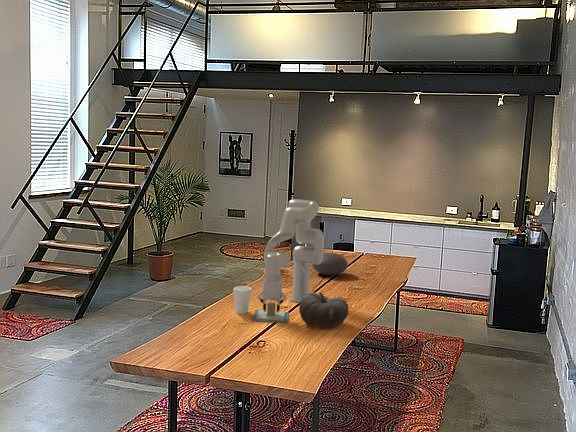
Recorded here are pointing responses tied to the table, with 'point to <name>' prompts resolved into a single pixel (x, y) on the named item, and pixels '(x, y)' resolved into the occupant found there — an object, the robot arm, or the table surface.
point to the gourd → (323, 310)
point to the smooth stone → (331, 264)
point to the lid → (271, 313)
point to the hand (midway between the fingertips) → (271, 311)
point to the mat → (270, 320)
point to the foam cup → (242, 299)
